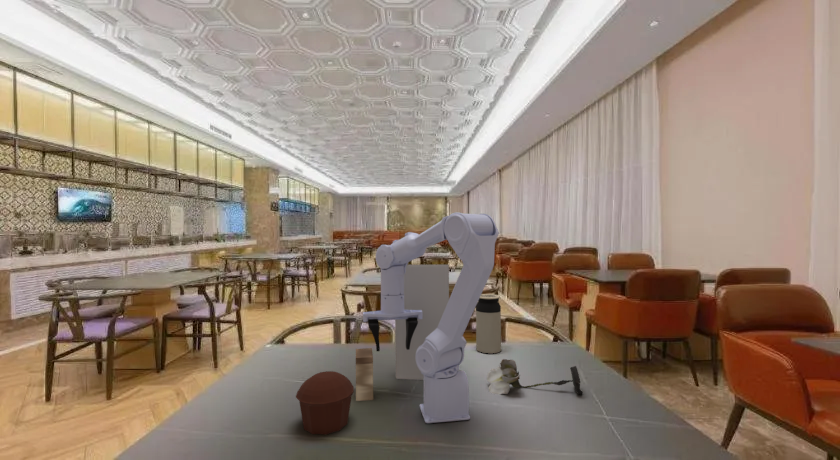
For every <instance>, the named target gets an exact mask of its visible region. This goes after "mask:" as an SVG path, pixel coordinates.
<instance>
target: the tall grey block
mask: <svg viewBox="0 0 840 460" xmlns="http://www.w3.org/2000/svg"><path fill="white" fill-rule="evenodd" d="M449 298H450V264H407V266H406V272H405V274H404V310H422V319H417V321H418V324H417V327H416V329H415V331H414V333H413V336H412V339H411V343H410V349H409V350H407V349H406V319H399V320H394V321H395V322H394V323H395V325H394V326H395V328H394V330H395V331H394V333H395V334H394V335H395V336H394V337H395V340H394V341H395V342H394V343H395V345H394V347H395V348H394V349H395V379H396V380H414V381H415V380H418V381H419V380H421V381H424V375H423V374H421V371H420V370H419V368H418V366H417V364H416V358H415V356H416V351H417V349H418V347H419V346H421V345H422V344H423V343H424V341H425V339H426V337H427V336H428V335H430V334H431V333H432V332H433V331H434V330H435V329H436V328H437V327H438V325H439V322H440V320H441V317H442V315H443V313H444V310H445V308H446V306H447V303H448V301H449Z"/></svg>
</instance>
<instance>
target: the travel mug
mask: <svg viewBox="0 0 840 460" xmlns="http://www.w3.org/2000/svg"><path fill="white" fill-rule="evenodd" d="M500 298H501V297H500V295H498V294H492V293H482V294H481V296H480V298H479V300H478V302H477V305H476V307H475V313H476V314H475V317H476V318H475V321H476V322H475V328H476V329H475V331H476V332H475V333H476V335H475V336H476V337H475V338H476V339H475V340H476V342H475V343H476V345H475V347H476V351H478V352H479V353H481V352H482V353H481V354H486V353H488V354H492V355H493V353H494V354H498V353H500V352H501V351H502V323H501V322H502V321H501V320H502V317H501V315H502V314H501V313H502V310H501V309H502V307H501V304H500V302H499V299H500ZM488 354H487V355H488Z"/></svg>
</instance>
